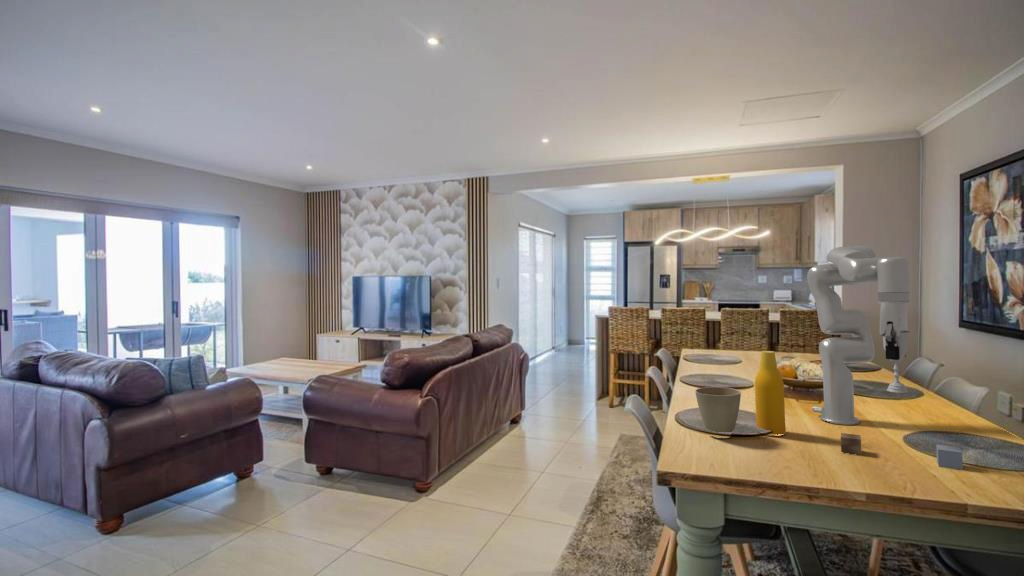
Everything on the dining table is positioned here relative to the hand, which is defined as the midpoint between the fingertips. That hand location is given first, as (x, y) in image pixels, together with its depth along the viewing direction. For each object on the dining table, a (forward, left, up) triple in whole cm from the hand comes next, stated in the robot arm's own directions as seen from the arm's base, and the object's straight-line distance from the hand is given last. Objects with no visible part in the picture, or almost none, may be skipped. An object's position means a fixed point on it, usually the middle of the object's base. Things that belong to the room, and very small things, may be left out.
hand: (896, 357), depth 144 cm
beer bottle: (-36, -3, -30) cm, 47 cm away
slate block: (+11, +1, -30) cm, 32 cm away
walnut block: (-11, -5, -30) cm, 32 cm away
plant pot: (-47, -18, -30) cm, 59 cm away
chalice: (0, 0, -10) cm, 10 cm away
